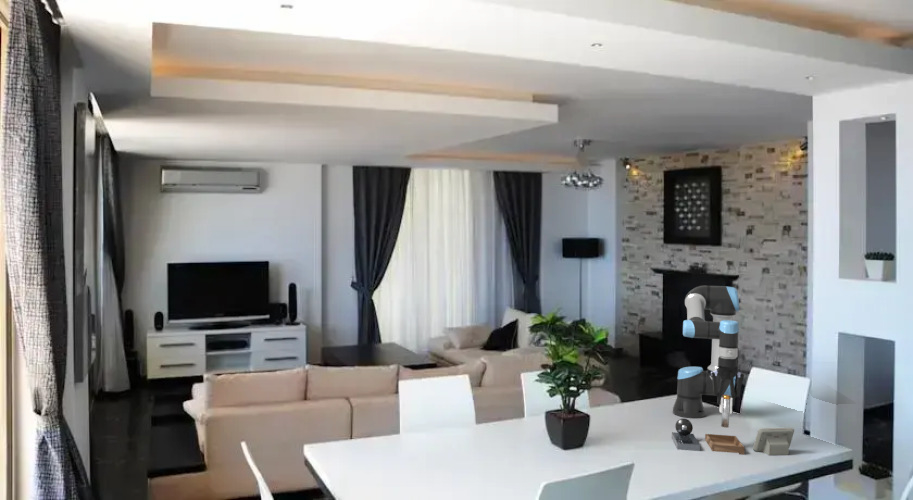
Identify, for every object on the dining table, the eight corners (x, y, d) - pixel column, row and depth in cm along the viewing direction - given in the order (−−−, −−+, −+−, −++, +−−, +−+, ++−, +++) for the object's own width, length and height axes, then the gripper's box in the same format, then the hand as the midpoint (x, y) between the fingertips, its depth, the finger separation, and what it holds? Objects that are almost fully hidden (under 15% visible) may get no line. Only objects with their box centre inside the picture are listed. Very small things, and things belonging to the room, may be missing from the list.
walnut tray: (704, 440, 310) (705, 433, 310) (735, 443, 309) (735, 435, 308) (712, 452, 295) (712, 444, 295) (744, 454, 293) (744, 447, 293)
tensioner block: (671, 439, 312) (672, 416, 311) (692, 440, 310) (693, 417, 310) (677, 450, 296) (678, 426, 296) (699, 452, 295) (700, 428, 294)
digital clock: (788, 449, 301) (789, 425, 301) (797, 456, 292) (798, 431, 292) (749, 448, 302) (750, 423, 302) (757, 455, 293) (758, 429, 293)
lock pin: (720, 425, 303) (721, 394, 302) (727, 425, 302) (729, 394, 302) (722, 427, 300) (723, 396, 299) (729, 427, 299) (730, 396, 299)
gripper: (709, 357, 298) (707, 413, 299) (750, 360, 295) (747, 416, 296) (706, 354, 305) (704, 408, 306) (745, 356, 303) (743, 411, 304)
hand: (725, 412), depth 301 cm, fingers closed on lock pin, 3 cm apart
